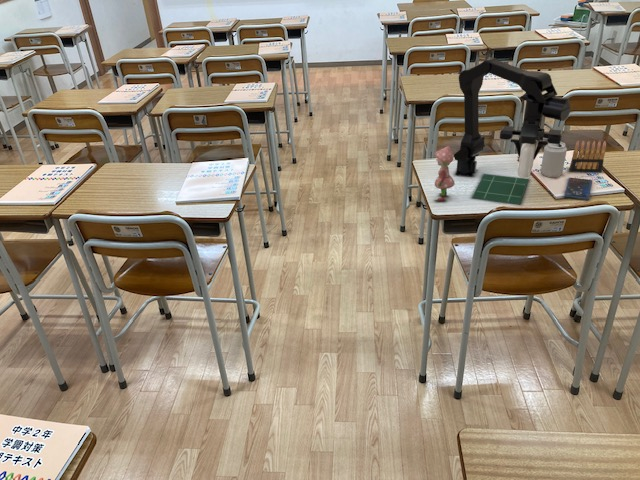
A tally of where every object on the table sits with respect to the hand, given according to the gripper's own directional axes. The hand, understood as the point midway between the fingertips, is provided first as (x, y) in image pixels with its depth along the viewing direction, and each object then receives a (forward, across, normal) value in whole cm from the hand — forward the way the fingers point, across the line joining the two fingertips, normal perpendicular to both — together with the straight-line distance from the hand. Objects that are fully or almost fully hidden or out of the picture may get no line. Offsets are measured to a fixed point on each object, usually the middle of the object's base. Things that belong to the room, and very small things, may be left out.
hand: (526, 158), depth 166 cm
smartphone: (+12, +18, +6) cm, 23 cm away
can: (+13, +8, +17) cm, 23 cm away
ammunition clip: (+13, +19, +22) cm, 32 cm away
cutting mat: (+13, -7, 0) cm, 15 cm away
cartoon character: (+13, -24, -13) cm, 31 cm away
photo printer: (+5, 0, 0) cm, 5 cm away
